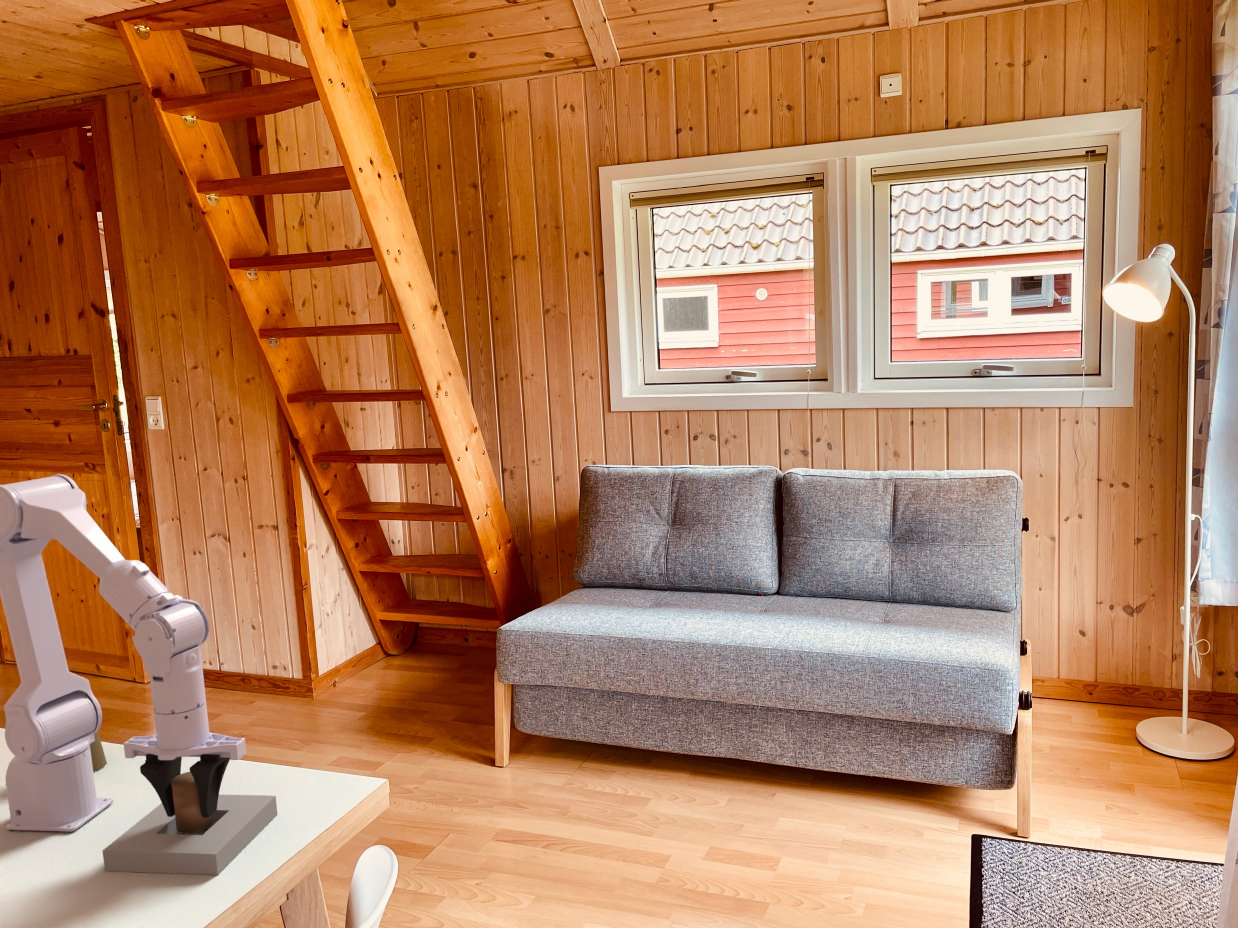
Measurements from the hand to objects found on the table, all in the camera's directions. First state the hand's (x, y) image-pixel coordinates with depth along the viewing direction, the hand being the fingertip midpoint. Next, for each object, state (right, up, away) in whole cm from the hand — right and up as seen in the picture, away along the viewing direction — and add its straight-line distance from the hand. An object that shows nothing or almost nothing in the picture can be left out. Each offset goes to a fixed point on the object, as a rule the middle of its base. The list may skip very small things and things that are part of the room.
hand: (192, 813), depth 119 cm
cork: (-26, -2, +23) cm, 35 cm away
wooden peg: (0, -2, 0) cm, 2 cm away
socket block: (0, -4, 0) cm, 4 cm away
